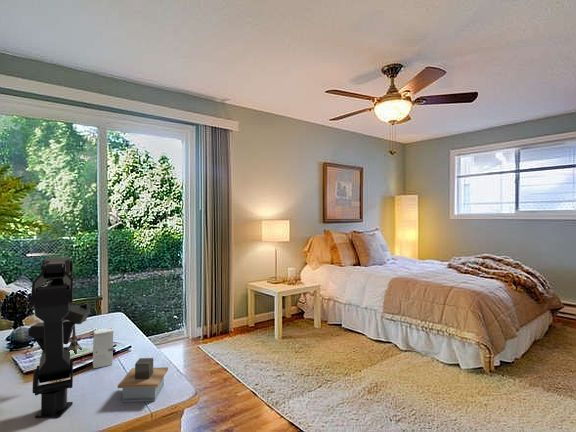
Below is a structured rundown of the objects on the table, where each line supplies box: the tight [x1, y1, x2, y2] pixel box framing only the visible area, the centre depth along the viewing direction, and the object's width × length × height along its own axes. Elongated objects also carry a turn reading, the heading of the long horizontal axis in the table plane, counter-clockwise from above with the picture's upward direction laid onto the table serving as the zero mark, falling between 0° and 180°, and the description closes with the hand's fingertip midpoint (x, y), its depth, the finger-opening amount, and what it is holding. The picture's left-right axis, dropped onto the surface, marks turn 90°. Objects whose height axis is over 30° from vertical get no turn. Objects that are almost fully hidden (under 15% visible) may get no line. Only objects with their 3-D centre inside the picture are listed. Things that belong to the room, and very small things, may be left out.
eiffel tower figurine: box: [67, 324, 83, 354], centre depth 133 cm, size 15×10×13 cm
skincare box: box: [92, 327, 114, 369], centre depth 123 cm, size 6×4×12 cm
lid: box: [117, 357, 169, 389], centre depth 104 cm, size 11×11×5 cm
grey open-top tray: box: [122, 377, 165, 403], centre depth 104 cm, size 9×9×4 cm
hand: (57, 349), depth 106 cm, fingers open, 9 cm apart
